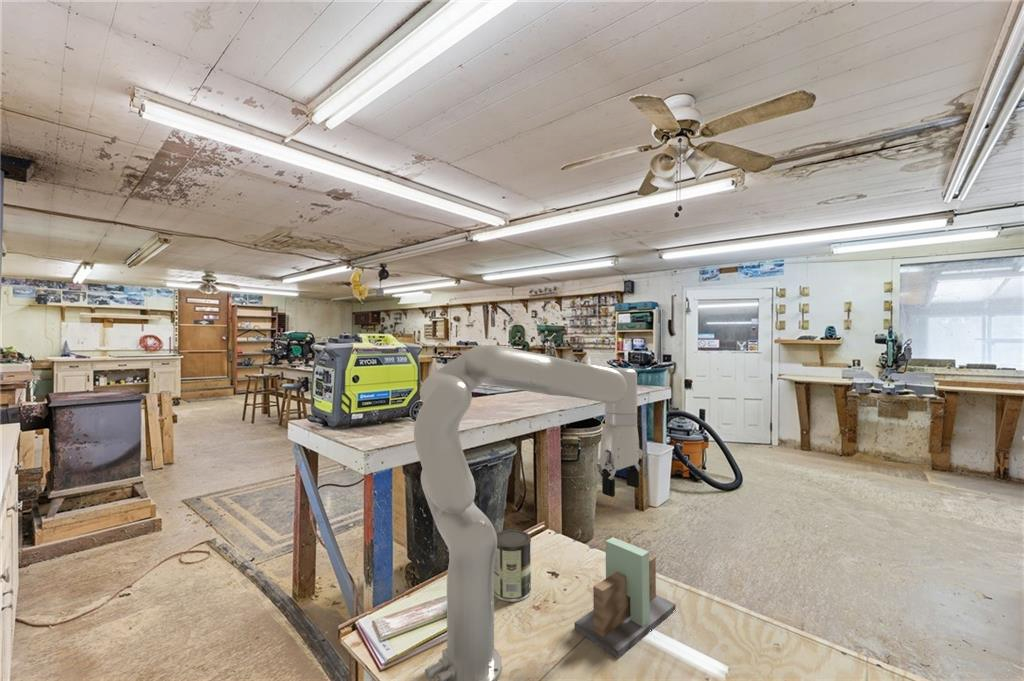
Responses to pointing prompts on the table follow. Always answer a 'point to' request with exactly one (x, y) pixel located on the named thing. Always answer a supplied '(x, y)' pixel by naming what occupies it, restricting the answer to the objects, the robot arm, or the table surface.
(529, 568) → the coffee can
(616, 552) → the green slat
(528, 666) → the table surface
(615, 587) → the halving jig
